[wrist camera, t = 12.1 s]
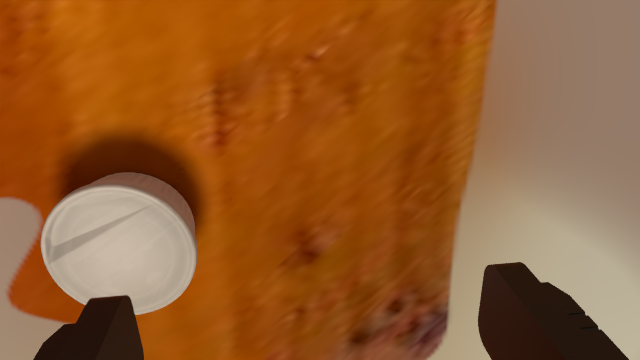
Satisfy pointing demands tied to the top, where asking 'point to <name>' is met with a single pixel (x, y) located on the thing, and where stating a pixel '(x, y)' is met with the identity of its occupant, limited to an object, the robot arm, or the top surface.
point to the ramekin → (122, 241)
